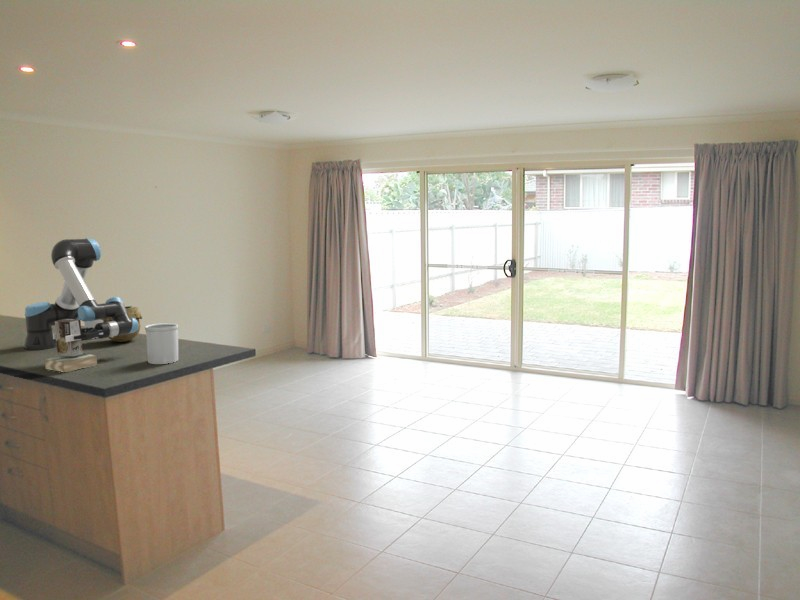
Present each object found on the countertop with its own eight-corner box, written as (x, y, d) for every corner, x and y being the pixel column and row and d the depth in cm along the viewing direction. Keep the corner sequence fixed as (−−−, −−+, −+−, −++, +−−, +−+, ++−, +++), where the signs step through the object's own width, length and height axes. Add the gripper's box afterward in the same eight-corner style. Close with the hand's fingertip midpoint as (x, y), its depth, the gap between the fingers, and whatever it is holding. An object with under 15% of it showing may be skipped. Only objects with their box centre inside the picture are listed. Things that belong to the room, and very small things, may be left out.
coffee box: (83, 353, 282) (81, 319, 280) (72, 356, 276) (69, 321, 274) (68, 352, 285) (66, 318, 283) (56, 355, 279) (54, 320, 277)
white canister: (107, 337, 350) (106, 311, 348) (91, 339, 343) (89, 313, 341) (101, 334, 356) (99, 309, 354) (85, 337, 349) (83, 311, 347)
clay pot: (99, 340, 341) (96, 305, 338) (139, 336, 353) (137, 302, 350) (104, 347, 324) (102, 310, 321) (147, 342, 335) (144, 306, 332)
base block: (45, 369, 278) (44, 358, 277) (78, 362, 292) (77, 351, 291) (64, 373, 271) (63, 362, 270) (97, 365, 285) (96, 355, 284)
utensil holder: (154, 357, 301) (152, 322, 299) (184, 357, 301) (182, 322, 298) (141, 364, 287) (139, 328, 284) (172, 365, 286) (170, 328, 284)
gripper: (120, 340, 288) (73, 348, 270) (93, 334, 301) (47, 342, 282) (119, 324, 287) (72, 332, 269) (92, 319, 300) (46, 326, 281)
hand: (59, 337), depth 276 cm, fingers closed on coffee box, 10 cm apart
